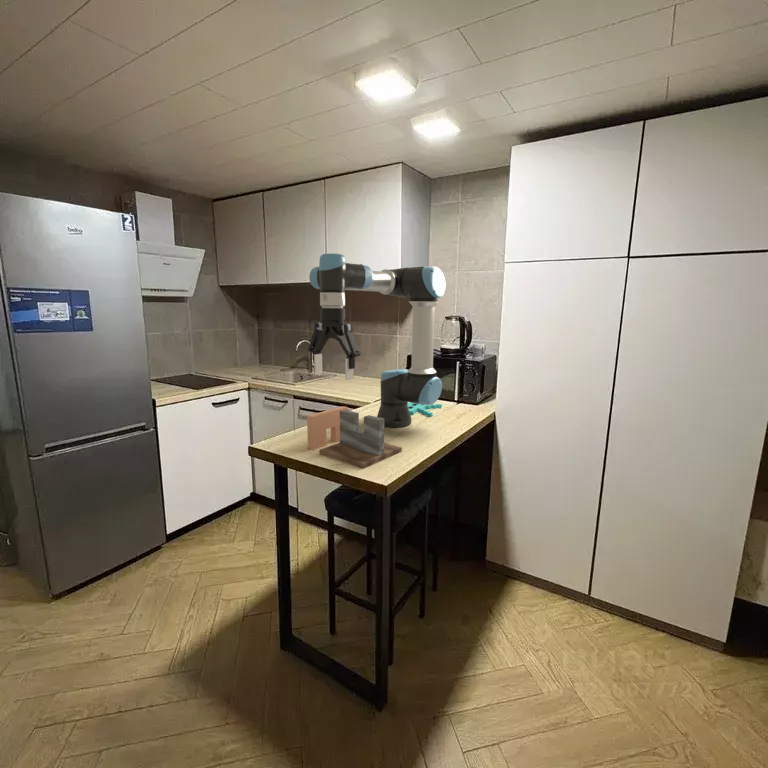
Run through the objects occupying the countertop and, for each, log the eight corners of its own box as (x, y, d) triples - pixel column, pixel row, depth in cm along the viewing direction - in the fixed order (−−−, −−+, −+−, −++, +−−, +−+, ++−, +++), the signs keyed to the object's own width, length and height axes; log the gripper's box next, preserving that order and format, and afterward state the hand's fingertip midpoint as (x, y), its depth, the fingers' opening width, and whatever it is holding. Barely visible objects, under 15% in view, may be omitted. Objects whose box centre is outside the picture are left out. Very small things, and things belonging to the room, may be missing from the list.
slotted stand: (359, 439, 158) (359, 404, 156) (401, 451, 146) (402, 413, 143) (319, 453, 143) (319, 415, 140) (363, 468, 130) (363, 426, 128)
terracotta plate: (343, 436, 162) (343, 406, 159) (348, 437, 160) (347, 407, 158) (307, 448, 148) (307, 415, 146) (312, 450, 146) (311, 416, 144)
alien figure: (441, 408, 209) (403, 404, 216) (441, 404, 209) (404, 400, 216) (431, 418, 191) (390, 413, 198) (431, 413, 190) (390, 409, 198)
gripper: (295, 306, 131) (297, 373, 135) (354, 307, 116) (355, 383, 120) (313, 306, 137) (315, 371, 141) (372, 307, 121) (371, 379, 125)
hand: (333, 376), depth 130 cm, fingers open, 13 cm apart
